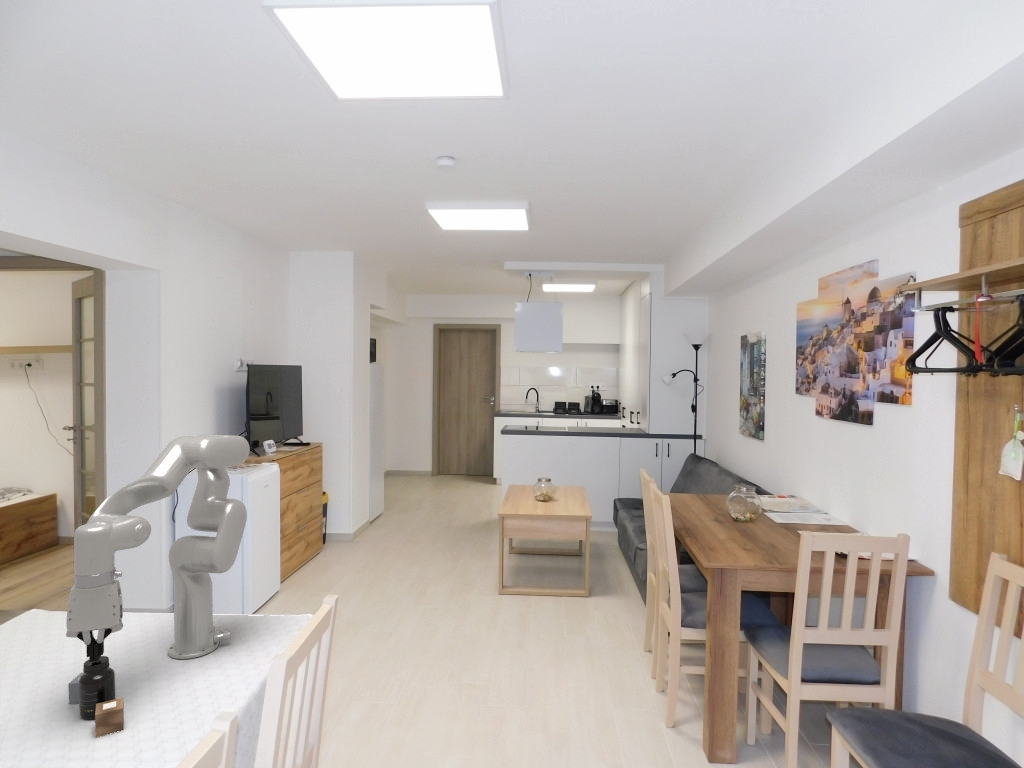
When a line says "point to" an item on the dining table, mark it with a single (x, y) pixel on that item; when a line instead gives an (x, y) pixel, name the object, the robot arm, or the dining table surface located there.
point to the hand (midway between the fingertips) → (95, 658)
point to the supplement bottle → (95, 686)
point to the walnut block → (109, 717)
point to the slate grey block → (74, 690)
